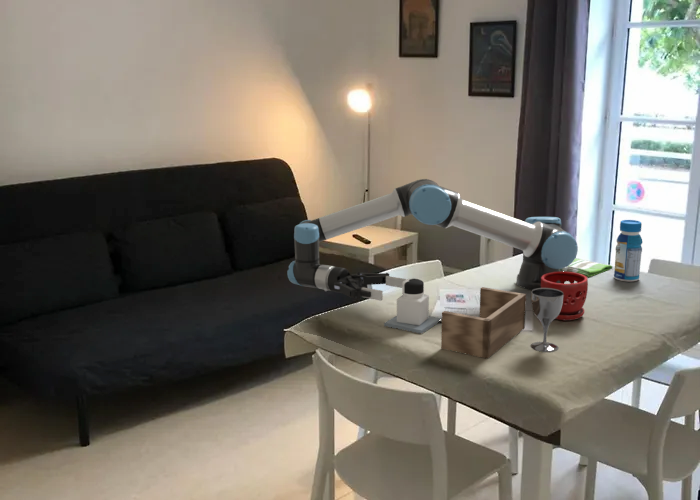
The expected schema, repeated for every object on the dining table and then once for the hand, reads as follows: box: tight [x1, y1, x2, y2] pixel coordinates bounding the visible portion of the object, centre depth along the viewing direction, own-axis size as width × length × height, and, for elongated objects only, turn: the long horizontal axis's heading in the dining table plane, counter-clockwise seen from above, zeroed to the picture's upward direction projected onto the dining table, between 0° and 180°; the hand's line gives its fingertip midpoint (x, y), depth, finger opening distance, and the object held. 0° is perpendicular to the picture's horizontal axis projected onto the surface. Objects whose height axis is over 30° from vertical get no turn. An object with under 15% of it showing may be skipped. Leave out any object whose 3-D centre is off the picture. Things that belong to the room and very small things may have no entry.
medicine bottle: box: [396, 278, 430, 325], centre depth 211 cm, size 7×7×12 cm
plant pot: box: [541, 271, 589, 321], centre depth 216 cm, size 13×13×12 cm
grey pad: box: [383, 315, 442, 334], centre depth 213 cm, size 12×12×1 cm
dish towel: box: [560, 257, 613, 278], centre depth 269 cm, size 17×23×4 cm
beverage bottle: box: [613, 219, 643, 283], centre depth 251 cm, size 8×8×20 cm
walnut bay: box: [440, 286, 527, 359], centre depth 200 cm, size 13×26×10 cm, turn 147°
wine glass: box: [530, 288, 563, 353], centre depth 192 cm, size 8×8×15 cm
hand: (394, 289), depth 214 cm, fingers open, 13 cm apart
